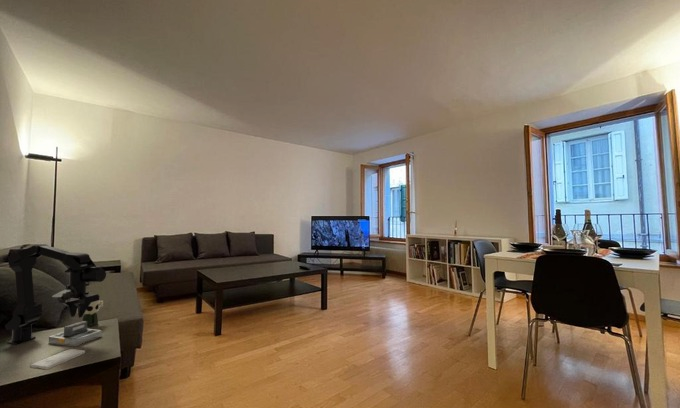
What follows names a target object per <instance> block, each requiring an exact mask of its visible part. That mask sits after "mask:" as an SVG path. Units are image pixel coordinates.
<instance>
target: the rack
mask: <svg viewBox="0 0 680 408" xmlns="http://www.w3.org/2000/svg"><path fill="white" fill-rule="evenodd" d="M101 337H102V330H101V329H97V328H95V329H93V328H87V331H86V332H83V333H80V334H77V335H74V336H72V337H69V338H64V331H61V332H58V333H56V334H53V335H49V336H48V344H51V345H58V346H59V345H60V346H66V347H67V346H68V347H73V348H74V347H78V346H80V344H81V345H83V344H85V342H86V343H88V342H90V341H89V340H91V341H94V340H95V339H96V340H97V339H98V338H101ZM87 341H88V342H87ZM82 343H83V344H82Z"/></svg>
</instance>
